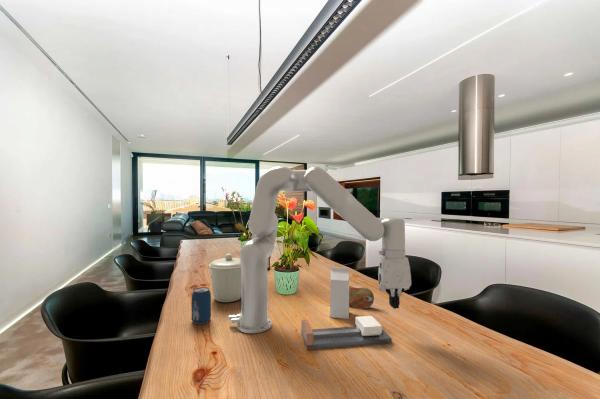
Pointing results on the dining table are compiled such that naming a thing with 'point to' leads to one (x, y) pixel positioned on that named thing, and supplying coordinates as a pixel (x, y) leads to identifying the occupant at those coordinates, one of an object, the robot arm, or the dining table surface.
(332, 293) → the milk carton
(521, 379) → the dining table surface
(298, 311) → the dining table surface
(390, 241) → the robot arm
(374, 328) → the slider
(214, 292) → the canister
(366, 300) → the tin
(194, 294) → the soda can
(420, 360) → the dining table surface
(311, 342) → the rail
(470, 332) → the dining table surface
